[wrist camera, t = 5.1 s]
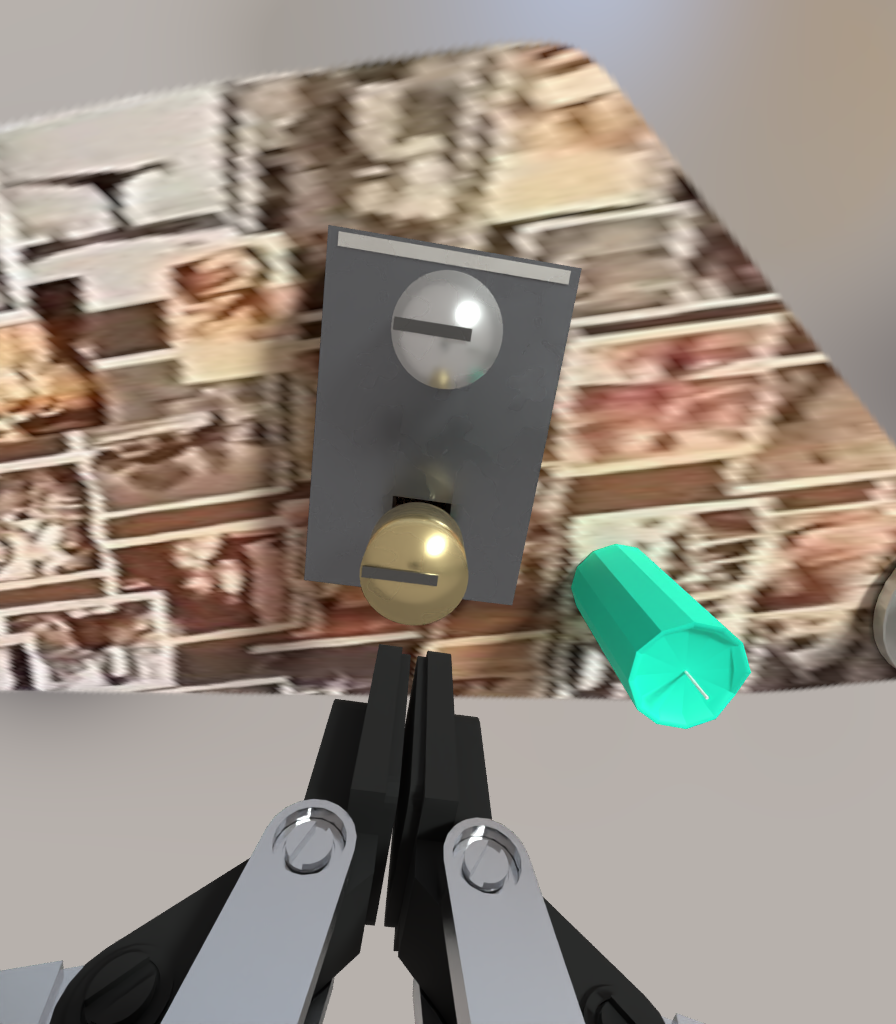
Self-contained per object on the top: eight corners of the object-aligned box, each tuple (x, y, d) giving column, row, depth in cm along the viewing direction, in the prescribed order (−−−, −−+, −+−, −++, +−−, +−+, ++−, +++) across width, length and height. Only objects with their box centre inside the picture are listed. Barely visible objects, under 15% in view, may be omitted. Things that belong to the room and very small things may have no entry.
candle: (597, 637, 35) (677, 771, 23) (555, 574, 33) (618, 684, 22) (671, 594, 34) (792, 711, 23) (632, 527, 33) (740, 616, 21)
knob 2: (464, 486, 28) (476, 534, 20) (452, 561, 29) (459, 632, 21) (384, 475, 27) (364, 519, 20) (375, 551, 29) (354, 620, 21)
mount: (556, 284, 28) (582, 268, 23) (500, 570, 33) (512, 606, 28) (347, 249, 27) (328, 224, 22) (323, 547, 32) (303, 580, 27)
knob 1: (490, 303, 27) (512, 279, 19) (476, 387, 28) (492, 397, 21) (407, 289, 27) (397, 260, 19) (398, 375, 28) (384, 380, 20)
